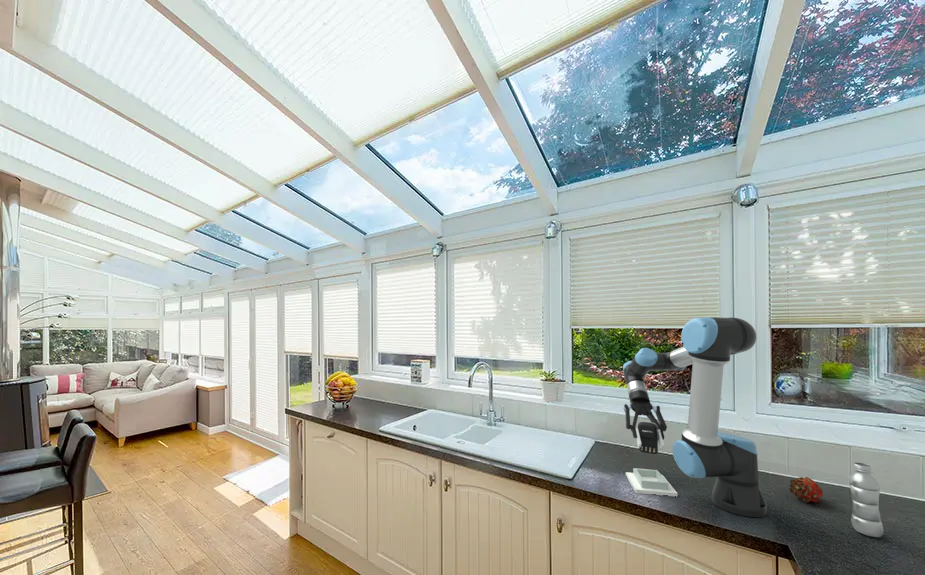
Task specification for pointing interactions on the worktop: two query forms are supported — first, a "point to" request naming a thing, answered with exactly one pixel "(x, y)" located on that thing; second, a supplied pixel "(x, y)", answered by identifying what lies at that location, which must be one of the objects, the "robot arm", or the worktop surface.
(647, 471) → the tray
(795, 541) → the worktop surface
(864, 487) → the plastic bottle
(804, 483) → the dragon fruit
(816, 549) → the worktop surface
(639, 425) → the black battery charger
